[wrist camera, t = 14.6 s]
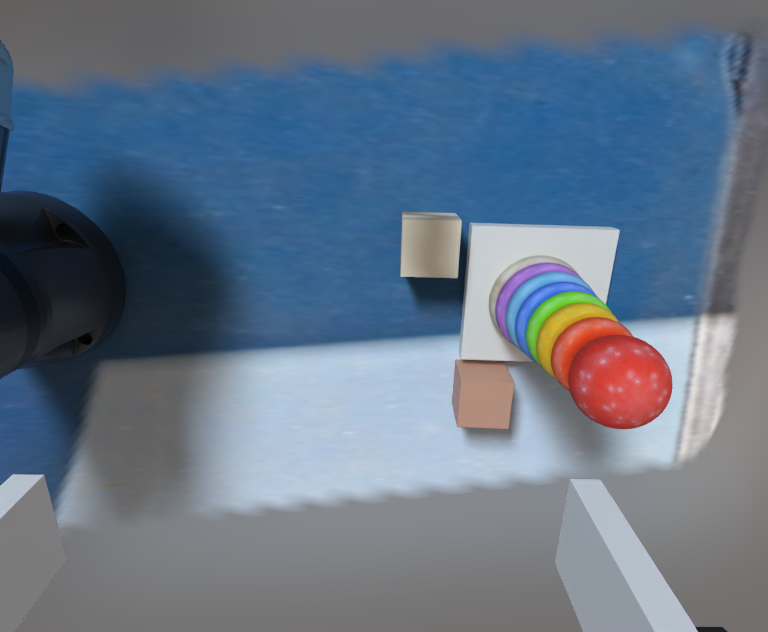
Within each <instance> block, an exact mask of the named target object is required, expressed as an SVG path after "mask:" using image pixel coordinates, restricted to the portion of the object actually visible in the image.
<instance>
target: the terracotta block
mask: <svg viewBox="0 0 768 632" xmlns="http://www.w3.org/2000/svg"><path fill="white" fill-rule="evenodd" d="M513 389H514V381H513V379H512V377H511V375H510V373H509V371H508V369H507V367H506V365H505V363H504V361H481V360H455V372H454V384H453V395H452V405H453V410H454V414H455V419H456V424H457V427H471V428H496V429H508V428H509V420H510V412H511V405H512V397H513Z"/></svg>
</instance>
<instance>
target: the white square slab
mask: <svg viewBox="0 0 768 632" xmlns="http://www.w3.org/2000/svg"><path fill="white" fill-rule="evenodd" d="M619 231H620V230H618V229H616V228H613V227H590V226H558V225H525V224H492V223H470V226H469V237H468V249H467V261H466V273H465V285H464V297H463V309H462V321H461V333H460V345H459V355H460V358H461V359H468V360H496V361H525V362H534V361H532V360H531V359H530V358H529V357H527V355H526V354H525V353H523V352H522V351H520V350H519V349H518V348H517V347H516V346H514V345H513V344H511V343H510V342H509V341H508V340H507V339H506V338H505V337H504V336H503V335H502V334H501V333H500V332H499V331H498V330H497V328H496V327H495V325H494V324H493V322H492V319H491V316H490V313H489V296H490V292H491V289H492V287H493V284H494V283H495V281H496V279H497V278H498V276H499V275H500V274H501V273H502V272H503V271H504V270H505V269H506V268H507V267H508V266H509V265H511V264H512V263H514V262H516V261H518V260H520V259H523V258H526V257H530V256H536V255H545V256H551V257H555V258H558V259H561V260H562V261H564V262H566V263H567V264H569V265H570V266H571V267H573V268H574V270H575V271H576V272H577V273H578V274H579V276H580V277H581V278H582V279H583V280H584V281H585V282H586V283H587V284H588V285H589V286H590V287H591V288H592V290H593V291H594V293H595V294H596V295H597V297H598V298H599V299H600V300H601V301H603V302H604V303H605V304H606V301H607V295H608V290H609V285H610V279H611V274H612V269H613V263H614V258H615V252H616V247H617V242H618V236H619Z"/></svg>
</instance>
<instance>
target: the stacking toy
mask: <svg viewBox="0 0 768 632" xmlns="http://www.w3.org/2000/svg"><path fill="white" fill-rule="evenodd" d="M489 313H490V316H491V319H492V322H493V324H494V325H495V327H496V328H497V330H498V331H499V332H500V333H501V334H502V335H503V336H504V337H505V338H506V339H507V340H508V341H509V342H510V343H511V344H513V345H514V346H516V347H517V348H518V349H519V350H520V351H522V352H523V353H525V354H526V355H527V357H529V358H530V359H531V360H532V361H534V362H536V363H538V364H539V365H540V366H541V367H543V368H544V370H545V371H546V372H547V373H548V374H549V375H551V376H552V377H553V378H555V379H557V380H558V382H559V383H560V384H561V385H562V386H563V387H564V388H566V389H567V390H569V391H570V393H571V395H572V398H573V400H574V402H575V403H576V405H577V406H578V408H579V409H580V410H581V411H582V412H583V413H584V414H585V415H586V416H587V417H589V418H590V419H591V420H593V421H595V422H597V423H599V424H601V425H603V426H606V427H610V428H615V429H632V428H636V427H640V426H643V425H645V424H647V423H649V422H651V421H652V420H654V419H655V418H656V417H658V416H659V415H660V414H661V413H662V412H663V410H664V409H665V408H666V406H667V404H668V402H669V400H670V397H671V393H672V376H671V372H670V369H669V367H668V365H667V363H666V361H665V360H664V358H663V357H662V355H661V354H660V353H659V352H658V351H657V350H656V349H655V348H653V347H652V346H651V345H649V344H648V343H646V342H645V341H643V340H640V339H638V338H635V337H633V336H632V334H631V333H630V332H629V330H628V329H627V328H626V327H624V326H623V325H622V324H620V323H619V321H618V320H617V319H616V317H615V316H614V315H613V314H612V312H611V311H610V309H609V308H608V307H607V305H606V304H605V303H604V302H603V301H601V300H600V299H599V298H598V297H597V295H596V294H595V293H594V291H593V290H592V288H591V287H590V286H589V285H588V284H587V283H586V282H585V281H584V280H583V279H582V278H581V277H580V276H579V274H578V273H577V272H576V271H575V270H574V268H573V267H571V266H570V265H569V264H567V263H566V262H564V261H562V260H561V259H558V258H555V257H551V256H545V255H536V256H530V257H526V258H523V259H520V260H518V261H516V262H514V263H512V264H511V265H509V266H508V267H507V268H506V269H505V270H504V271H503V272H502V273H501V274H500V275H499V276H498V278H497V279H496V281H495V283H494V284H493V287H492V289H491V292H490V296H489Z"/></svg>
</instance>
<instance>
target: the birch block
mask: <svg viewBox="0 0 768 632" xmlns="http://www.w3.org/2000/svg"><path fill="white" fill-rule="evenodd" d="M461 225H462V220H461V219H460V218H459V217H458V216H457V214H456V213H428V212H402V234H401V277H433V278H458V266H459V253H460V239H461Z"/></svg>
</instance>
